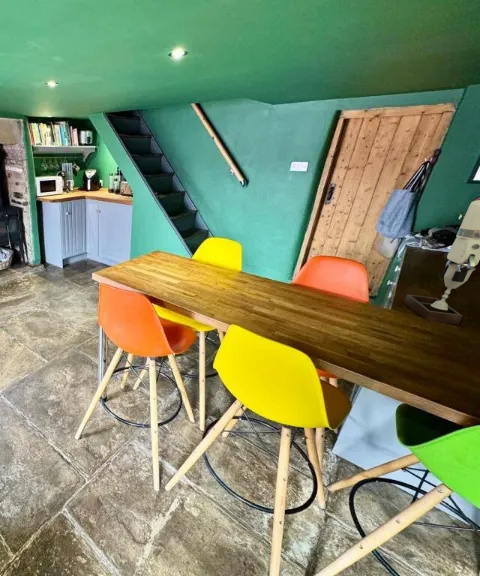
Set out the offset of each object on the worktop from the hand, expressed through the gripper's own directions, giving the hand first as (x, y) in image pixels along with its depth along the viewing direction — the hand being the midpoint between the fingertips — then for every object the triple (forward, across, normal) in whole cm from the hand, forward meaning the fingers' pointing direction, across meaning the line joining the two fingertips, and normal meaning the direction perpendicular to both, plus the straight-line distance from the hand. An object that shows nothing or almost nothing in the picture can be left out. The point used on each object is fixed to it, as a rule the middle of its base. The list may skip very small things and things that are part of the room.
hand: (452, 278), depth 120 cm
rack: (+18, +5, 0) cm, 19 cm away
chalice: (+13, 0, 0) cm, 13 cm away
